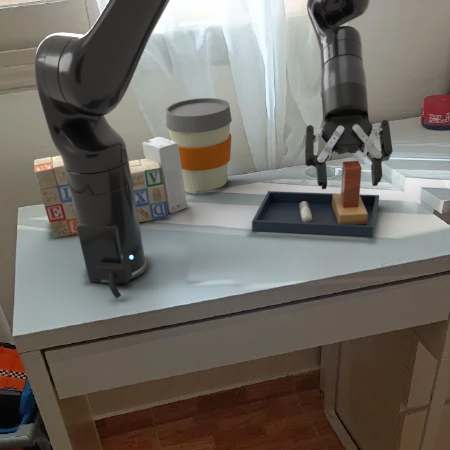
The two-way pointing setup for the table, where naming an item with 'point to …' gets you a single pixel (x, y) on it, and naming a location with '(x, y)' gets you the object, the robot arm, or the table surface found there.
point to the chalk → (305, 212)
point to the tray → (320, 210)
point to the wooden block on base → (349, 197)
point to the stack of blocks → (63, 205)
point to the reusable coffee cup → (201, 141)
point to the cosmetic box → (168, 170)
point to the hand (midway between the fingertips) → (350, 185)
